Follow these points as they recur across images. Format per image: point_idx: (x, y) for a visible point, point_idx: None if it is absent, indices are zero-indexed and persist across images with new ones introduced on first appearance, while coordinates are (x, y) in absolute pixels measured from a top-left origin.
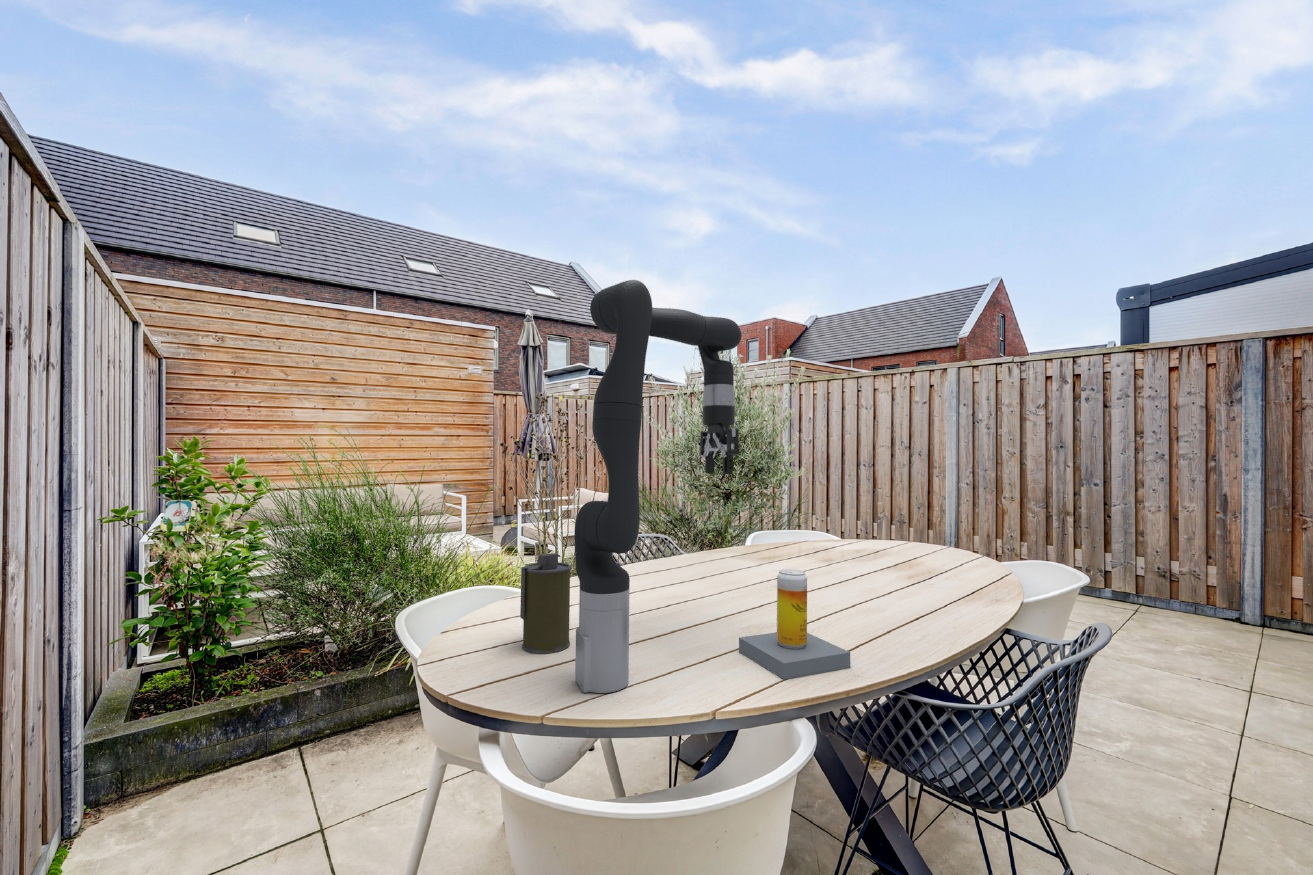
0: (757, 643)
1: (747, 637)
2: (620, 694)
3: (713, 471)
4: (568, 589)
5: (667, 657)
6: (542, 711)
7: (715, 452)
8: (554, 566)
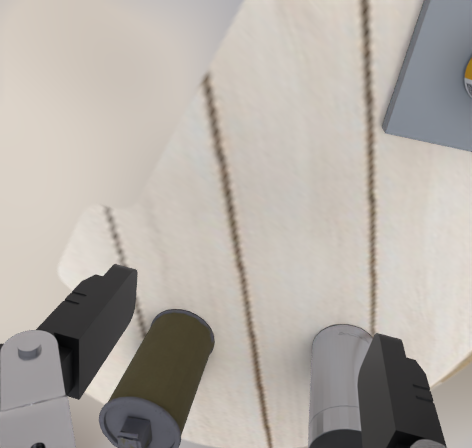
0: (436, 127)
1: (397, 118)
2: None
3: (130, 279)
4: (175, 381)
5: (322, 241)
6: None
7: (64, 389)
8: (148, 427)
